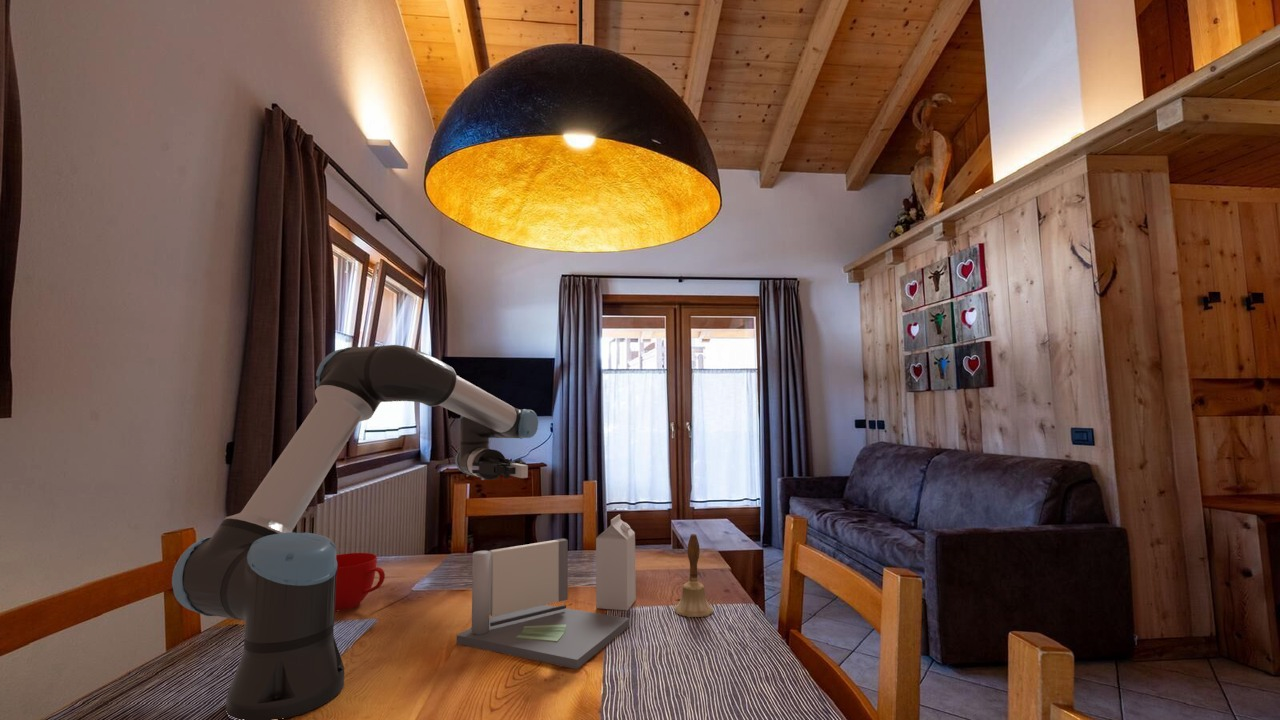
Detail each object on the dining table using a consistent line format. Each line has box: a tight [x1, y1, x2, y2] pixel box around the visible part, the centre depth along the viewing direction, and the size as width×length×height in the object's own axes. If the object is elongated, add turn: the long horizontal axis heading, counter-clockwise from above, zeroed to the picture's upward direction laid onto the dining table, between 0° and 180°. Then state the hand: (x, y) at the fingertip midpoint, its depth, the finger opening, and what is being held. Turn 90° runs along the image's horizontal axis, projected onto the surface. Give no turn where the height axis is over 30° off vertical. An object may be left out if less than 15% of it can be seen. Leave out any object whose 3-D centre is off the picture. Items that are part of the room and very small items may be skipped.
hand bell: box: [674, 533, 714, 618], centre depth 119 cm, size 8×8×16 cm
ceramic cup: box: [335, 552, 386, 612], centre depth 123 cm, size 13×17×10 cm
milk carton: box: [595, 513, 637, 611], centre depth 123 cm, size 7×7×19 cm
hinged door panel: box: [471, 538, 569, 635], centre depth 109 cm, size 20×3×14 cm, turn 126°
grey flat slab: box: [455, 604, 630, 670], centre depth 106 cm, size 20×26×2 cm
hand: (524, 471), depth 123 cm, fingers closed
